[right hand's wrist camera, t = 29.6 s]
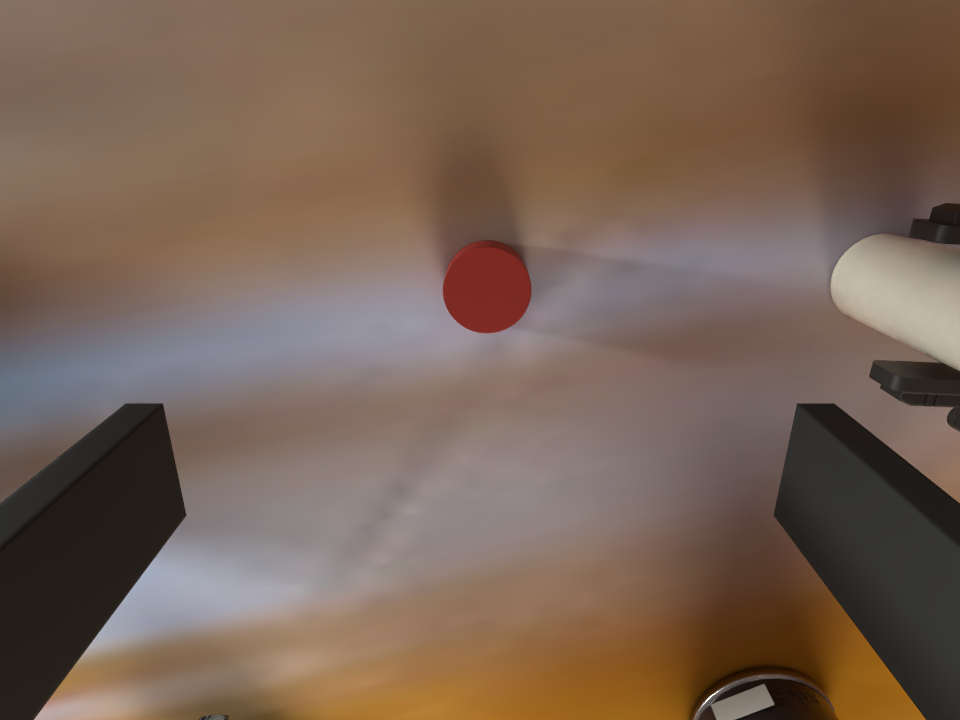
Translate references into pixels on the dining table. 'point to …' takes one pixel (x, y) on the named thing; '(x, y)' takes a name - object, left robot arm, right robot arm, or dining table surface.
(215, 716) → the rock
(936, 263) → the bottle
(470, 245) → the cap
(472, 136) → the dining table surface
